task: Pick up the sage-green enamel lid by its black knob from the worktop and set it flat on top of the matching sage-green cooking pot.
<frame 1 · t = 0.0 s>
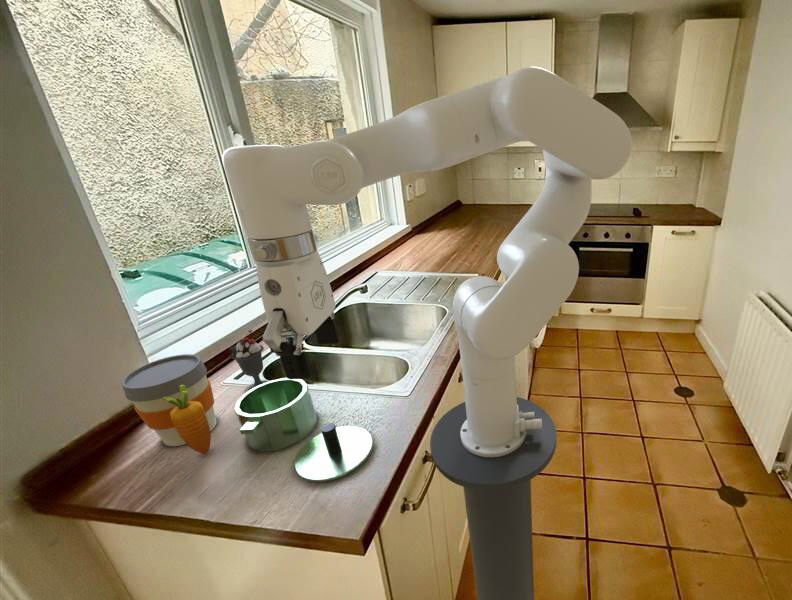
hand: (315, 359, 58), 25 cm above the counter, tool pointing down, fingers open, 9 cm apart
reusable coffee cup: (191, 431, 82), on the counter
carrot: (206, 454, 76), on the counter
lid: (335, 452, 74), point 1 cm above the counter
pot: (283, 429, 81), on the counter
sundae: (260, 387, 96), on the counter
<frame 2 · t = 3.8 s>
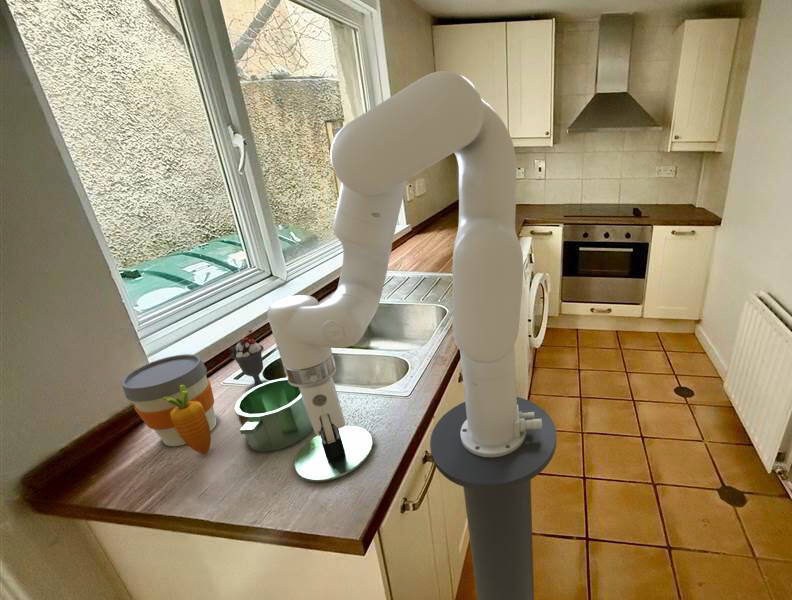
hand: (334, 449, 73), 1 cm above the counter, tool pointing down, fingers closed on lid, 2 cm apart
lid: (335, 452, 74), point 1 cm above the counter, touching gripper
everything else where it was.
when the fingers open (9 cm above the counter, at t = 9.2 s): lid stays where it is, resting on pot.
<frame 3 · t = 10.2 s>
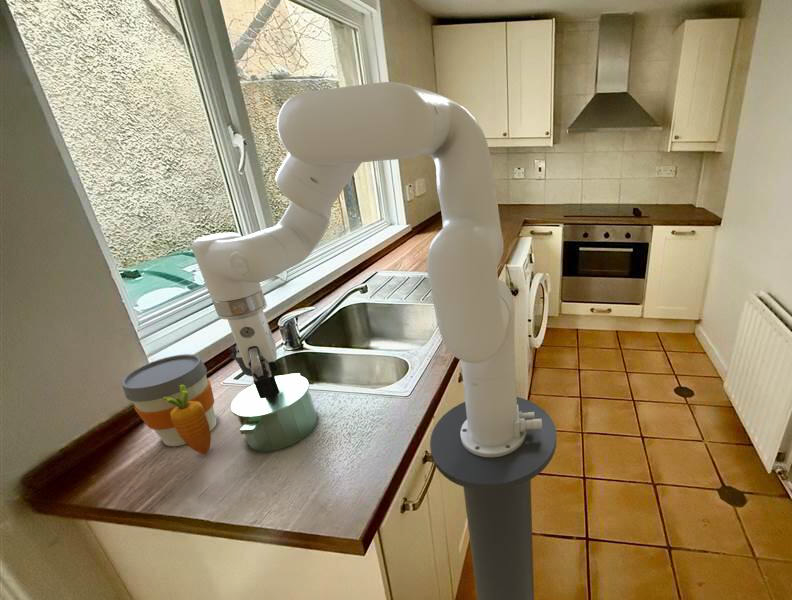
hand: (269, 383, 77), 12 cm above the counter, tool pointing down, fingers open, 9 cm apart
lid: (271, 395, 78), point 8 cm above the counter, touching pot
everything else where it was.
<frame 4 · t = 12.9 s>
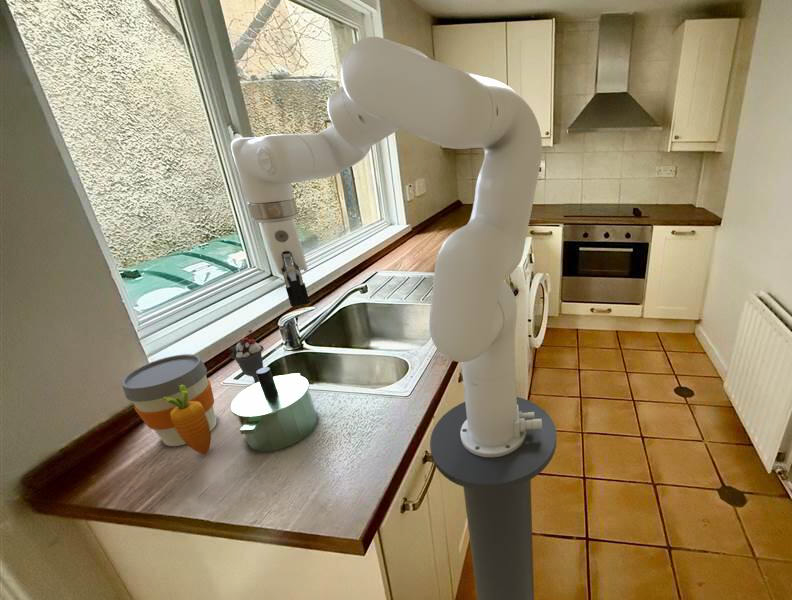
hand: (298, 296, 78), 26 cm above the counter, tool pointing down, fingers open, 9 cm apart
nothing on the counter moved.
at the end: lid 0.0 cm off-centre on the pot, point 8.5 cm above the pot's base; lid tilted 0° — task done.
